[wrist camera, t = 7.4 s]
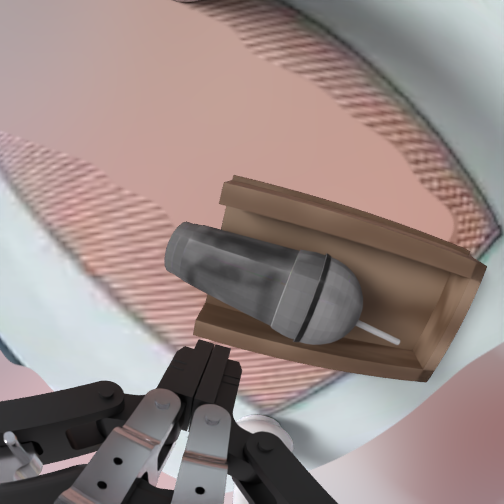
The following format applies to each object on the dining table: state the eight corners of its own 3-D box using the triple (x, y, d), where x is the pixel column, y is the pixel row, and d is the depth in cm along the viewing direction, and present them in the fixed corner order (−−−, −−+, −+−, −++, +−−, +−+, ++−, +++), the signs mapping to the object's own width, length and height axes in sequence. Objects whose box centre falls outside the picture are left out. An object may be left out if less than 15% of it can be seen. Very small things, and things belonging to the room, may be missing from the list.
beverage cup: (205, 196, 25) (420, 273, 22) (194, 264, 29) (383, 336, 25) (157, 221, 19) (437, 325, 15) (153, 302, 23) (385, 392, 19)
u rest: (234, 175, 24) (225, 177, 20) (467, 249, 23) (488, 262, 19) (204, 316, 28) (192, 338, 24) (413, 363, 27) (424, 385, 24)
